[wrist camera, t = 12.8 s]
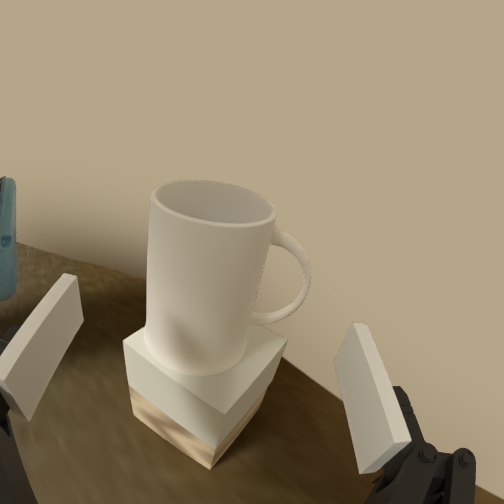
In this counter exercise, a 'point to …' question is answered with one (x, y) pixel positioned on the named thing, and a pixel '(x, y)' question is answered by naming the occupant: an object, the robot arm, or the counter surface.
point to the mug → (209, 273)
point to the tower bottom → (181, 435)
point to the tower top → (206, 384)
